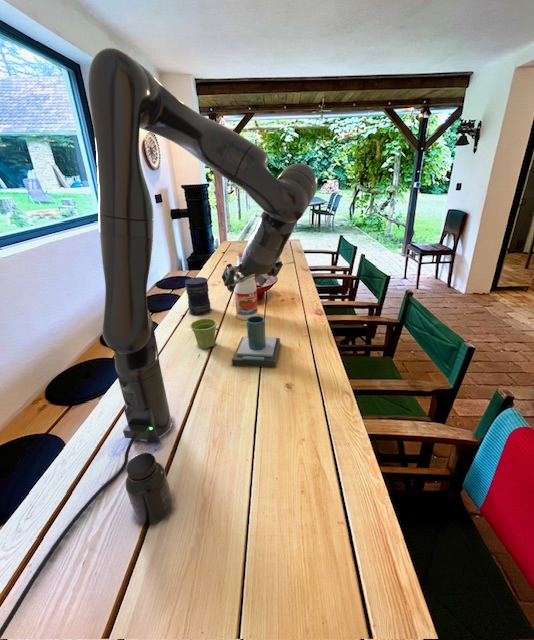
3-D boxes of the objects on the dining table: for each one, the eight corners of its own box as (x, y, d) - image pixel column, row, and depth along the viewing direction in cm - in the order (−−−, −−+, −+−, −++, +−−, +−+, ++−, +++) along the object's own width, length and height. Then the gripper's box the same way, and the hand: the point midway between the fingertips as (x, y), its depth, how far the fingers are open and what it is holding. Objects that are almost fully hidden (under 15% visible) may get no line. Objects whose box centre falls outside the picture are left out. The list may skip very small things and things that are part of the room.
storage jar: (213, 313, 146) (209, 281, 140) (191, 317, 143) (186, 285, 137) (208, 306, 154) (204, 276, 148) (187, 309, 151) (183, 279, 145)
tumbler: (264, 350, 107) (263, 323, 103) (246, 350, 108) (245, 323, 104) (267, 342, 113) (266, 316, 108) (250, 341, 113) (248, 315, 109)
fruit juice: (251, 310, 148) (247, 249, 136) (261, 317, 140) (258, 253, 129) (233, 315, 143) (227, 252, 132) (242, 322, 136) (237, 256, 124)
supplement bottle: (159, 486, 65) (148, 441, 60) (180, 505, 61) (169, 459, 56) (128, 511, 61) (113, 465, 56) (148, 534, 57) (133, 487, 52)
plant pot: (214, 352, 114) (211, 330, 110) (189, 350, 116) (186, 328, 112) (222, 339, 122) (220, 319, 119) (199, 338, 124) (196, 317, 120)
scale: (274, 367, 103) (274, 359, 102) (232, 365, 105) (231, 357, 104) (279, 343, 118) (279, 335, 116) (242, 342, 120) (241, 334, 118)
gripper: (285, 231, 73) (264, 269, 88) (227, 239, 68) (214, 278, 82) (298, 259, 71) (274, 293, 85) (239, 269, 65) (224, 304, 80)
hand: (245, 285), depth 84 cm, fingers open, 8 cm apart
